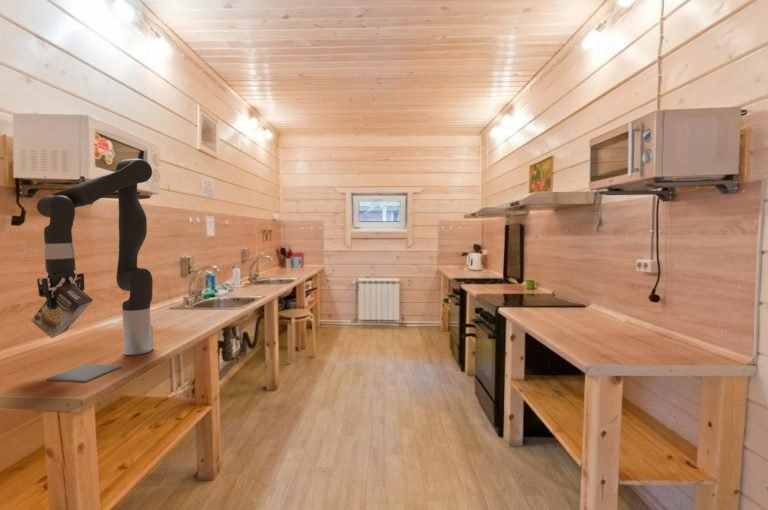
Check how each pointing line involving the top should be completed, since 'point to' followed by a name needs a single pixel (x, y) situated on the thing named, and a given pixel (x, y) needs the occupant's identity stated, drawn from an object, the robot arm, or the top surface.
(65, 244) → the robot arm
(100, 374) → the mat
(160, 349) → the top surface
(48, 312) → the coffee box
